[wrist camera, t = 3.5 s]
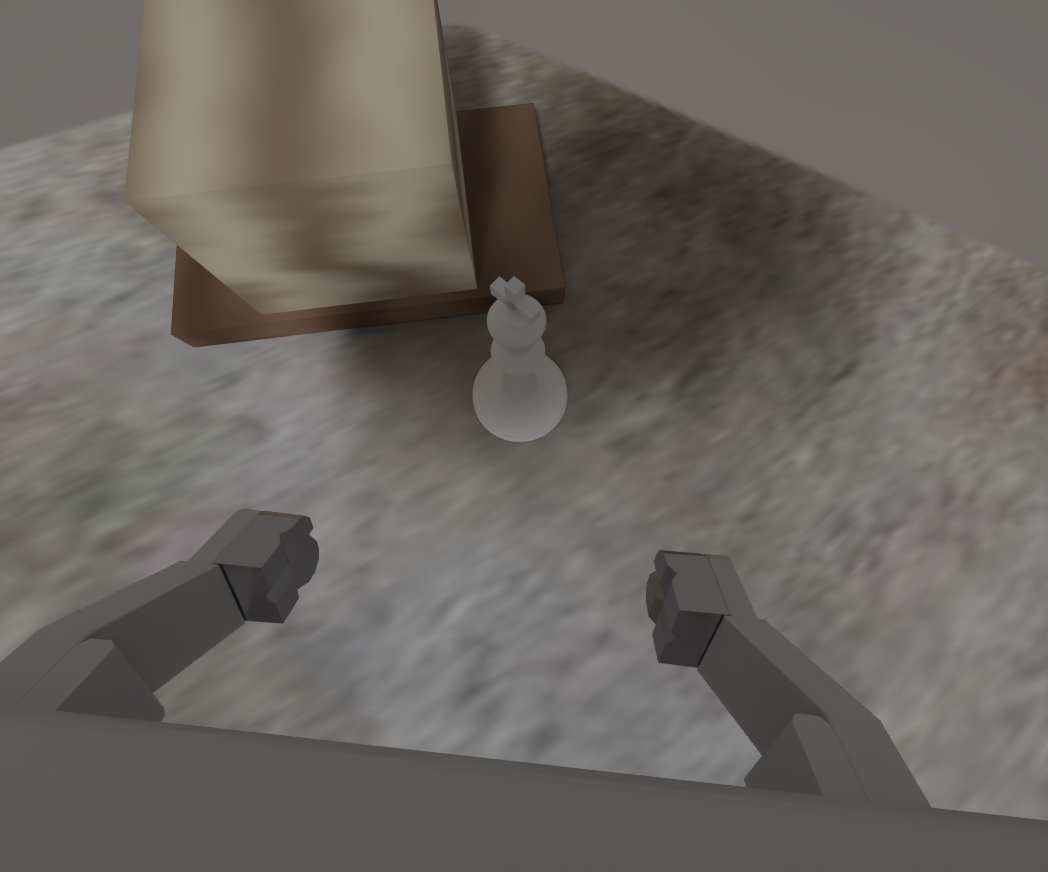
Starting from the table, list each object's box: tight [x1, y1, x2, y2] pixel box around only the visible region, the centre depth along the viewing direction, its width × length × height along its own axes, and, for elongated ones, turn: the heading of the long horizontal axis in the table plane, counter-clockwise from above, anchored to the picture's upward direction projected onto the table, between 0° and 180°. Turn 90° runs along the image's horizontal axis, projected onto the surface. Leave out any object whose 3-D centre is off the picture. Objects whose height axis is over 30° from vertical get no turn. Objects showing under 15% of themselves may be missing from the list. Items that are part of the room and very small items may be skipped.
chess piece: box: [472, 276, 568, 442], centre depth 17 cm, size 5×5×10 cm
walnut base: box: [124, 0, 565, 347], centre depth 20 cm, size 20×12×9 cm, turn 97°
